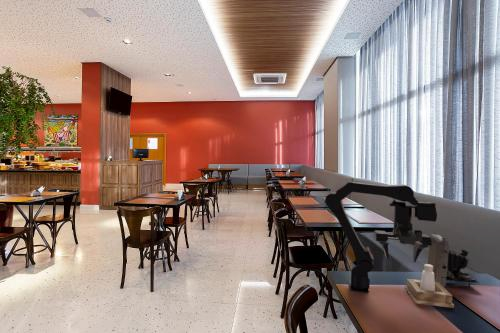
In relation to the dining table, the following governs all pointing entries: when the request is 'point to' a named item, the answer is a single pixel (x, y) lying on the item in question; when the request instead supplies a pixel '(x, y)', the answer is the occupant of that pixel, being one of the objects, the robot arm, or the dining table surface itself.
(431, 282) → the pepper shaker
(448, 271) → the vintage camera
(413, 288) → the socket holder
